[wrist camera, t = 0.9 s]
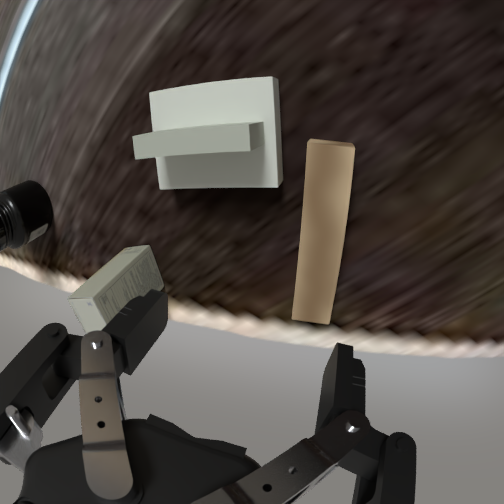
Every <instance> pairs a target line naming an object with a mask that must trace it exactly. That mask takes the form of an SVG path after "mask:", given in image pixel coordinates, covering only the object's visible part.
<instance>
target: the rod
mask: <svg viewBox="0 0 504 504" xmlns="http://www.w3.org/2000/svg"><path fill="white" fill-rule="evenodd" d="M354 154H355V147H354V145H353V144H352V143H345V142H336V141H327V140H318V139H310V140H309V141H308V142H307V157H306V172H305V186H304V199H303V212H302V224H301V235H300V246H299V256H298V266H297V276H296V285H295V295H294V304H293V312H292V319H294V320H300V321H307V322H314V323H322V324H329V322H330V317H331V312H332V307H333V302H334V296H335V291H336V286H337V280H338V274H339V268H340V262H341V256H342V250H343V243H344V237H345V230H346V223H347V215H348V208H349V200H350V192H351V183H352V174H353V164H354Z"/></svg>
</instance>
